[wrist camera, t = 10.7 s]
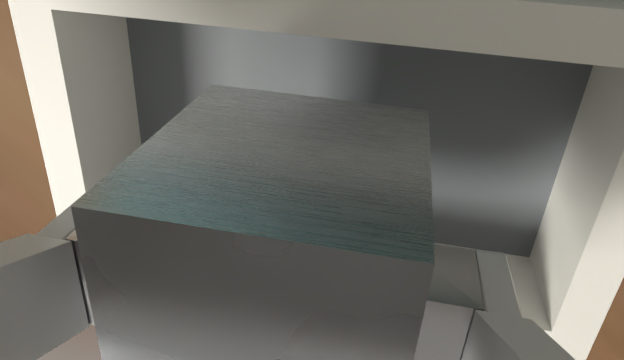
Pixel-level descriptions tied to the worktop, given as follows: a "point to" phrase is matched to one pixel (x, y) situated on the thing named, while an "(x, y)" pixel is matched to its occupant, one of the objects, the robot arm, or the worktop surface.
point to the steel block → (264, 233)
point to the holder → (385, 91)
